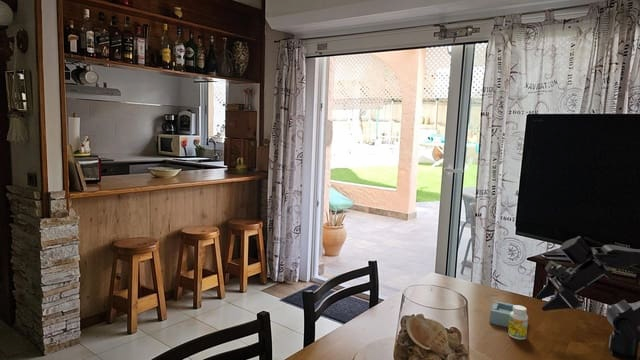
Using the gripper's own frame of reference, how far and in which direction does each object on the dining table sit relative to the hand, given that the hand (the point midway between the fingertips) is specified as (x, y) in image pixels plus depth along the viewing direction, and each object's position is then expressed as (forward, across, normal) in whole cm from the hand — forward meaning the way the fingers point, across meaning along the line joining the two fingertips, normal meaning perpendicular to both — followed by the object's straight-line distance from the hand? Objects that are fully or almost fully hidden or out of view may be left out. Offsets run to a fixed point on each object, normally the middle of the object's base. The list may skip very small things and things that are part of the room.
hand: (539, 303), depth 136 cm
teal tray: (+14, -11, +3) cm, 18 cm away
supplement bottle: (+12, 0, +5) cm, 13 cm away
